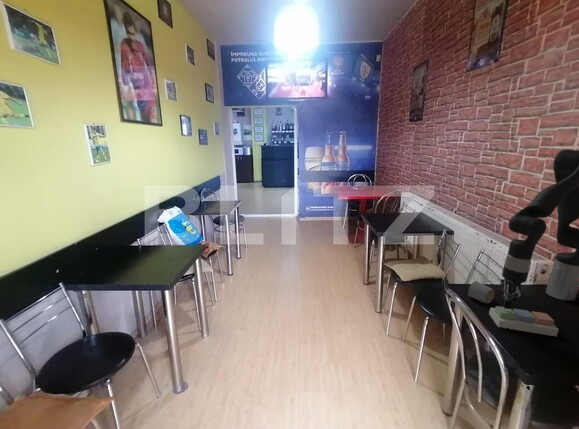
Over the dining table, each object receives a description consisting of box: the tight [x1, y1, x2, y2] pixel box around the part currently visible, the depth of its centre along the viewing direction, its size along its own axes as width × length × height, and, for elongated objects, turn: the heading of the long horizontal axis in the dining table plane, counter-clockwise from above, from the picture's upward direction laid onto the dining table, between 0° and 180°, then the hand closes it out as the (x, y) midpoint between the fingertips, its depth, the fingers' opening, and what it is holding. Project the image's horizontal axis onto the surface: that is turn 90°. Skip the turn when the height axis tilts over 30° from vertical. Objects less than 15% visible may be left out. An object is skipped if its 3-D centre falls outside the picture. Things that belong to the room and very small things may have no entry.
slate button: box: [512, 308, 535, 323], centre depth 112 cm, size 5×5×3 cm
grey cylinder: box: [467, 280, 496, 304], centre depth 130 cm, size 11×8×8 cm
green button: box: [494, 305, 516, 320], centre depth 114 cm, size 5×5×3 cm
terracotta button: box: [530, 311, 555, 326], centre depth 111 cm, size 5×5×3 cm
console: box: [488, 307, 560, 337], centre depth 113 cm, size 19×9×3 cm, turn 75°
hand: (506, 307), depth 113 cm, fingers closed
